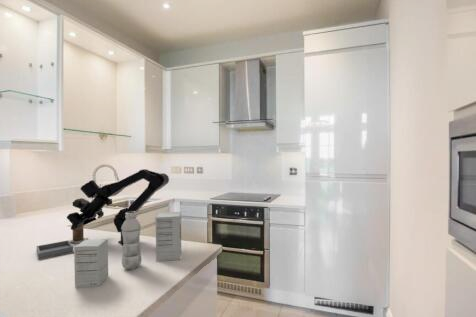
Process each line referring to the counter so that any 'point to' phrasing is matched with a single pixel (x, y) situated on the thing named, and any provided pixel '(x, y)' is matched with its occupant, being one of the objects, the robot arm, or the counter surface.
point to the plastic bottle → (131, 241)
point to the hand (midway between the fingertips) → (75, 227)
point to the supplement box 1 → (91, 262)
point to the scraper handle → (78, 236)
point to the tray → (54, 249)
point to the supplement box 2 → (168, 236)
